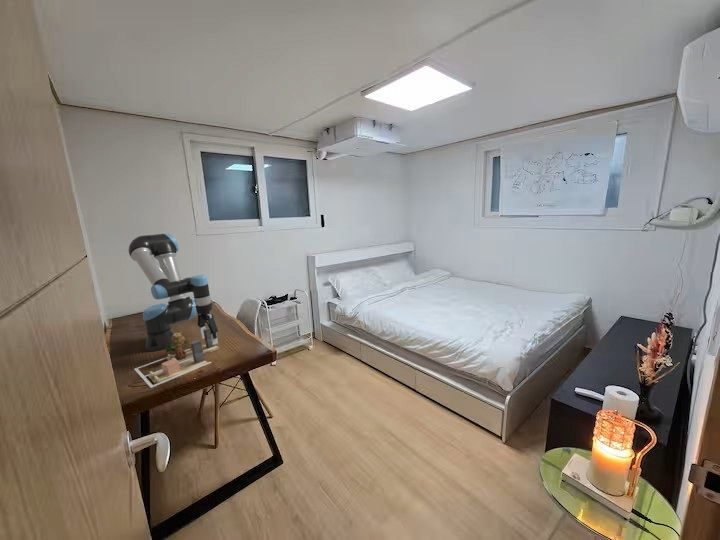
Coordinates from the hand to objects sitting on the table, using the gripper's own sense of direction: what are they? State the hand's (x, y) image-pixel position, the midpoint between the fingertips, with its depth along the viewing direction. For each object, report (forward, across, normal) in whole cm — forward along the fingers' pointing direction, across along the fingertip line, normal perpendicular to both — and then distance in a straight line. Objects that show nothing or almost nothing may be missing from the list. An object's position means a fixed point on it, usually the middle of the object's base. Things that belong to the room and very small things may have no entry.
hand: (209, 340), depth 159 cm
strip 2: (+4, +13, -20) cm, 24 cm away
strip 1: (+4, 0, -9) cm, 10 cm away
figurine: (+4, +1, -16) cm, 17 cm away
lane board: (+4, +6, -20) cm, 21 cm away
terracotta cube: (+3, +13, -23) cm, 27 cm away
